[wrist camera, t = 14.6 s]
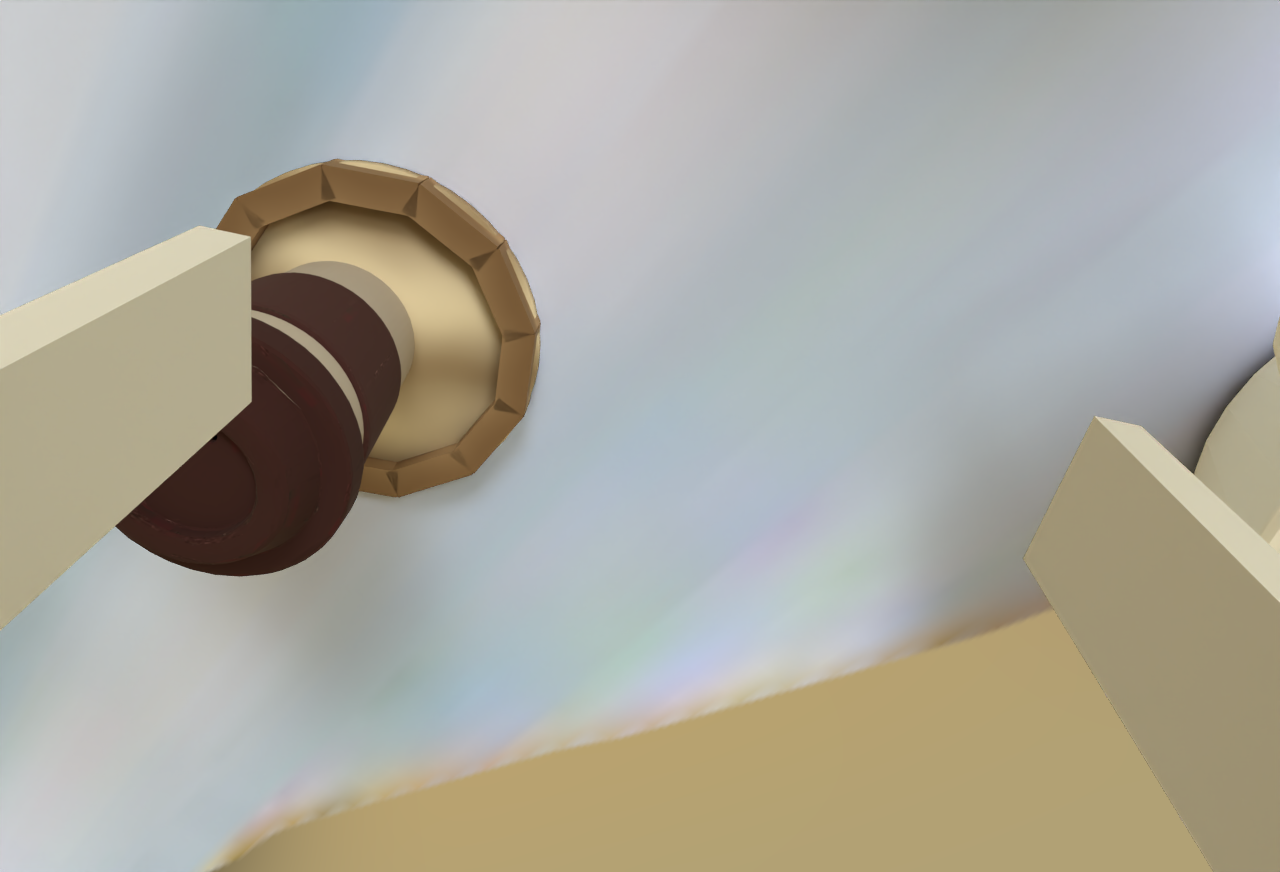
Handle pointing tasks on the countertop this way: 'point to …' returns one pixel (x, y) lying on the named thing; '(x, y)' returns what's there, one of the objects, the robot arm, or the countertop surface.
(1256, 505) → the pot
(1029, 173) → the countertop surface
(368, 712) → the countertop surface
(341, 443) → the coffee cup
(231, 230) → the round tray
